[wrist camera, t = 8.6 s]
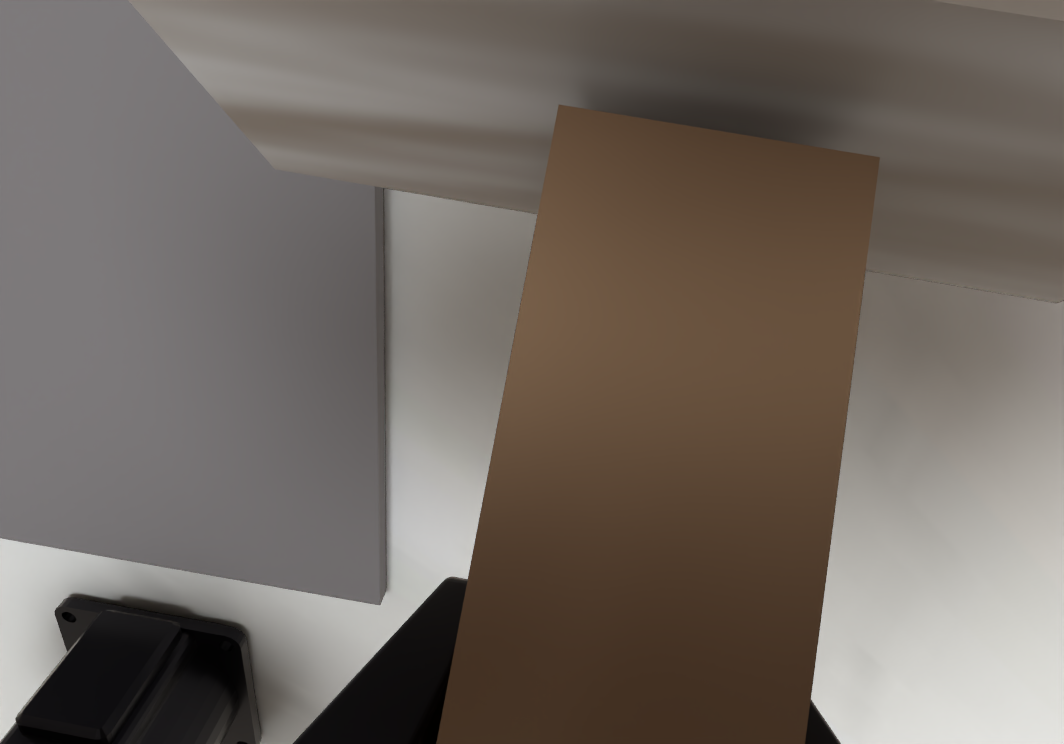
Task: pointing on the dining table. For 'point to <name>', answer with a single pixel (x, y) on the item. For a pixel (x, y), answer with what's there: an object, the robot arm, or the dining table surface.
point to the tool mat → (180, 322)
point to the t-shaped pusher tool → (667, 295)
